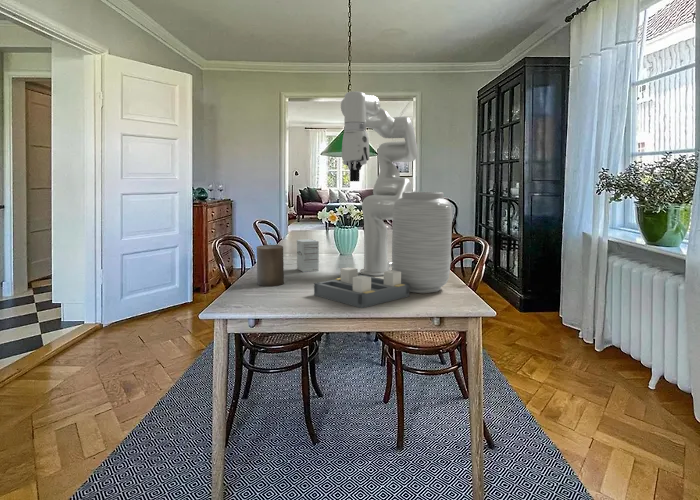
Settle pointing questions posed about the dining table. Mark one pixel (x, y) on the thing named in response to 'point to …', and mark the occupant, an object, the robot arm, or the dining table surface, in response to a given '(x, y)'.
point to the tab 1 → (361, 284)
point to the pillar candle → (270, 265)
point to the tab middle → (348, 274)
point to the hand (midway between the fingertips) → (354, 181)
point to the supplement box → (307, 255)
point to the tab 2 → (392, 278)
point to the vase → (422, 240)
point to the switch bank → (347, 295)
